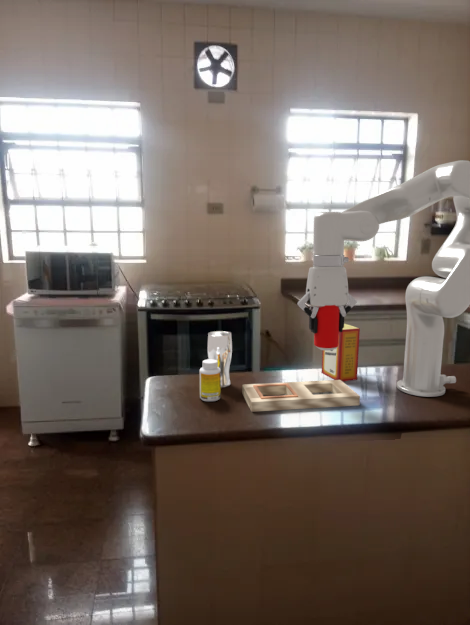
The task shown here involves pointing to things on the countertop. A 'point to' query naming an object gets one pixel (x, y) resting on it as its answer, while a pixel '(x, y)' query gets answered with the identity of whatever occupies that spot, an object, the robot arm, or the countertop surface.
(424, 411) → the countertop surface
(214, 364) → the supplement bottle
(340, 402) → the square hole board
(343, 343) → the baking soda box
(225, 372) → the beer glass
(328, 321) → the beverage can
